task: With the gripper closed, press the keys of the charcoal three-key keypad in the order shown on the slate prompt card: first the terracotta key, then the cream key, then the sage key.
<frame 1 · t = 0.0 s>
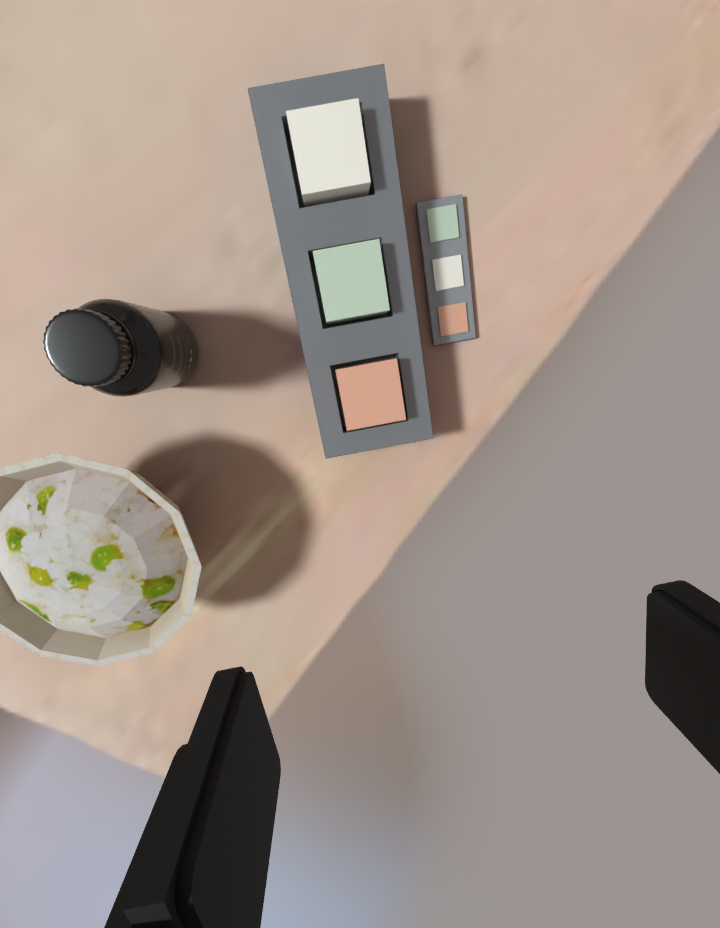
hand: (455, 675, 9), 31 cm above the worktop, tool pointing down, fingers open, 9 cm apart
terracotta key: (370, 393, 34), point 4 cm above the worktop, slide at 0.0 cm
prompt card: (446, 274, 36), on the worktop
keypad: (349, 292, 36), on the worktop
cream key: (329, 157, 30), point 4 cm above the worktop, slide at 0.0 cm
sage key: (351, 284, 32), point 4 cm above the worktop, slide at 0.0 cm
bowl: (135, 522, 40), on the worktop
supplement bottle: (163, 350, 36), on the worktop
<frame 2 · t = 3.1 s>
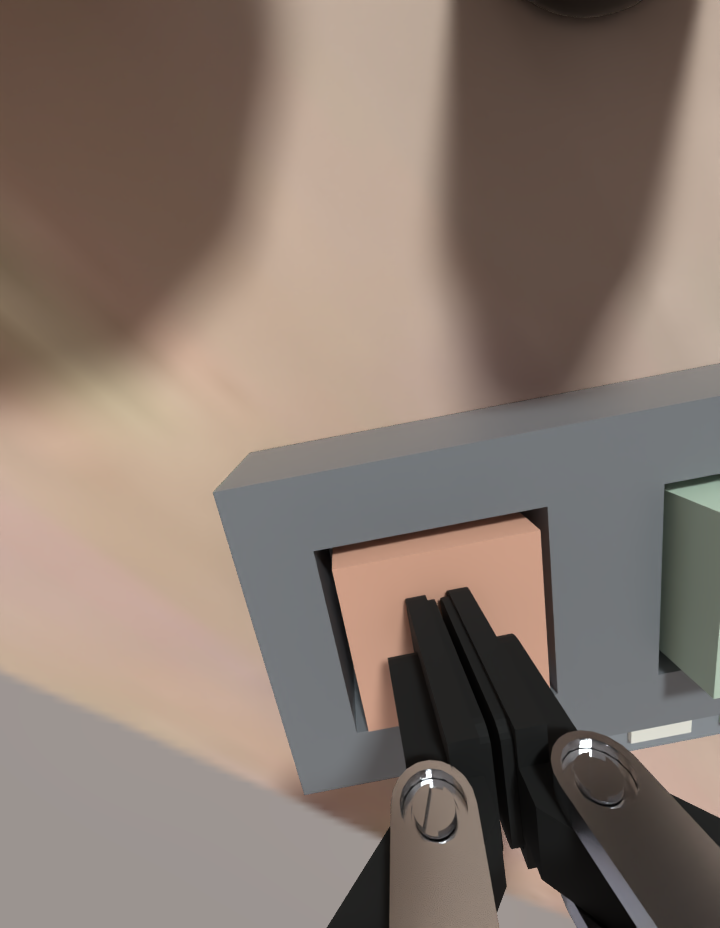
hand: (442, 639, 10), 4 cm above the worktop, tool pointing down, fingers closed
terracotta key: (435, 603, 12), point 3 cm above the worktop, slide at 0.9 cm, touching gripper
prompt card: (649, 700, 17), on the worktop
keypad: (654, 510, 14), on the worktop
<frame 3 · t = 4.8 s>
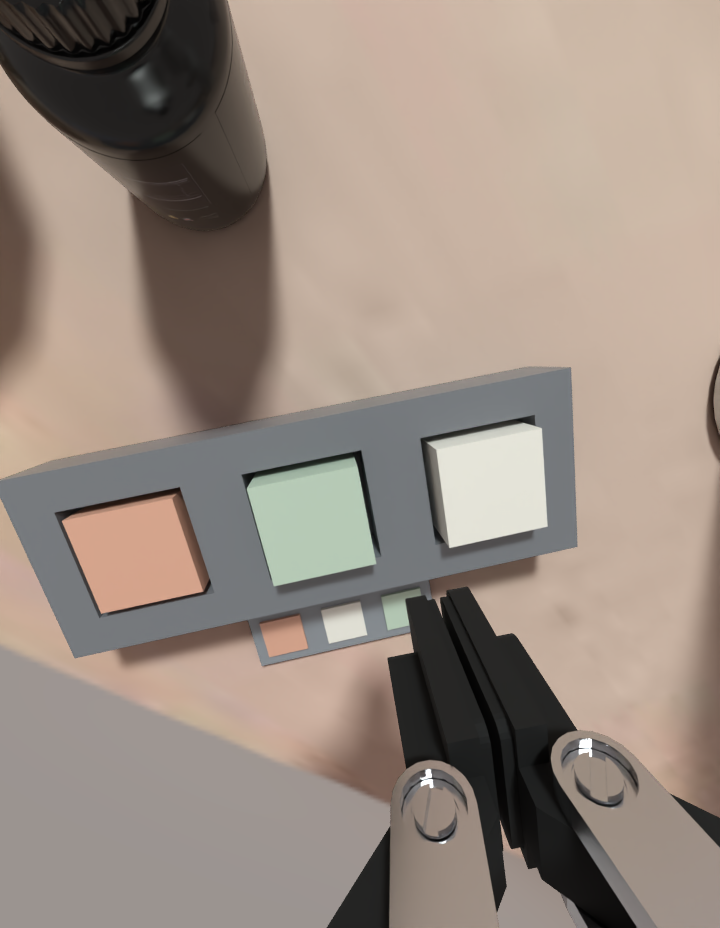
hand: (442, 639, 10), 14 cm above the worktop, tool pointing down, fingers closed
terracotta key: (148, 544, 21), point 3 cm above the worktop, slide at 1.0 cm
prompt card: (343, 616, 26), on the worktop
keypad: (315, 492, 24), on the worktop
cream key: (482, 480, 21), point 4 cm above the worktop, slide at 0.0 cm
sage key: (314, 516, 20), point 4 cm above the worktop, slide at 0.0 cm
supplement bottle: (198, 159, 19), on the worktop
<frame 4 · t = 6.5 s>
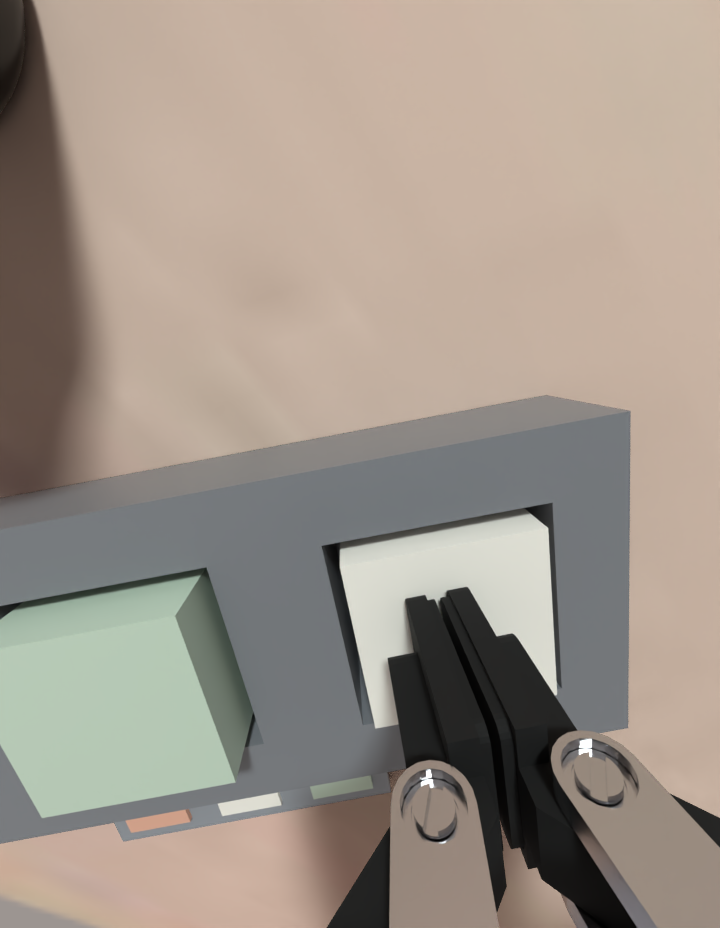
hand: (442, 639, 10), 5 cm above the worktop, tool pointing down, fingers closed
prompt card: (247, 771, 17), on the worktop
keypad: (186, 596, 15), on the worktop
cream key: (441, 600, 12), point 3 cm above the worktop, slide at 0.8 cm, touching gripper
sage key: (134, 676, 11), point 4 cm above the worktop, slide at 0.0 cm
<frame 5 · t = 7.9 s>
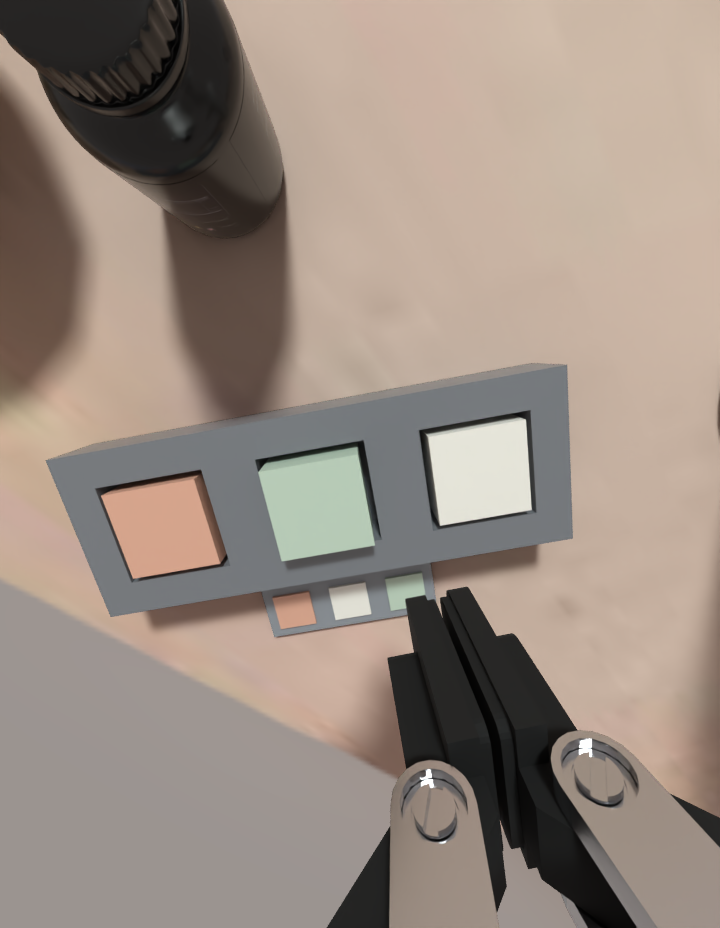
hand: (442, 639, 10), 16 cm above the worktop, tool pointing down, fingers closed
terracotta key: (174, 519, 23), point 3 cm above the worktop, slide at 1.0 cm
prompt card: (350, 595, 28), on the worktop
keypad: (325, 479, 26), on the worktop
cream key: (473, 466, 23), point 3 cm above the worktop, slide at 1.0 cm
sage key: (320, 499, 22), point 4 cm above the worktop, slide at 0.0 cm
supplement bottle: (222, 173, 21), on the worktop
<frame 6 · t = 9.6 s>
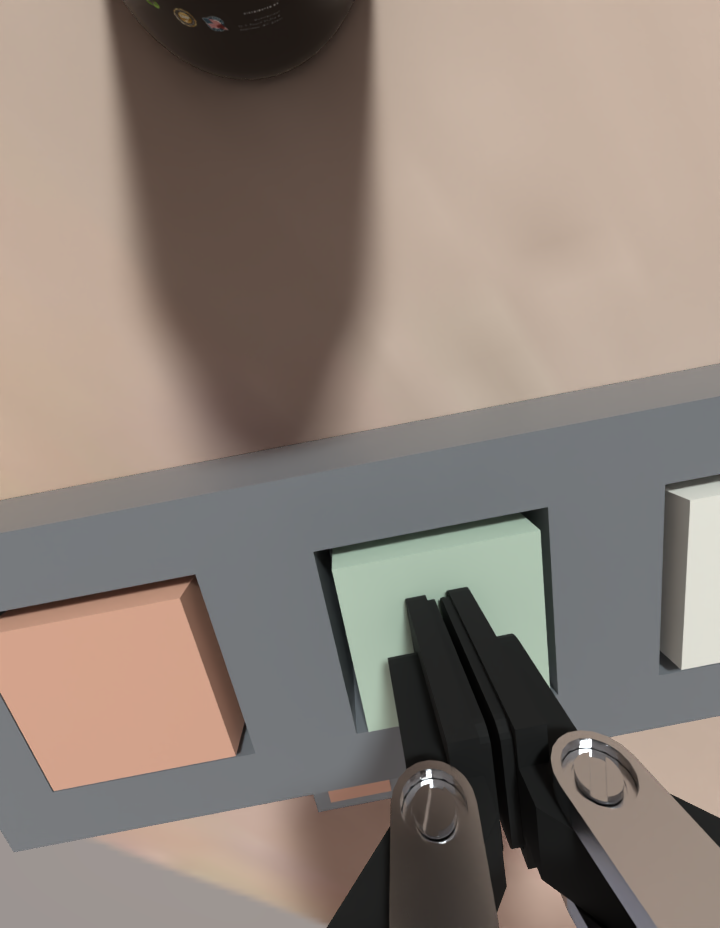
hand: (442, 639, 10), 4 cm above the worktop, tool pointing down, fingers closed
terracotta key: (140, 658, 12), point 3 cm above the worktop, slide at 1.0 cm
prompt card: (445, 740, 17), on the worktop
keypad: (416, 556, 14), on the worktop
sage key: (435, 603, 12), point 3 cm above the worktop, slide at 1.0 cm, touching gripper
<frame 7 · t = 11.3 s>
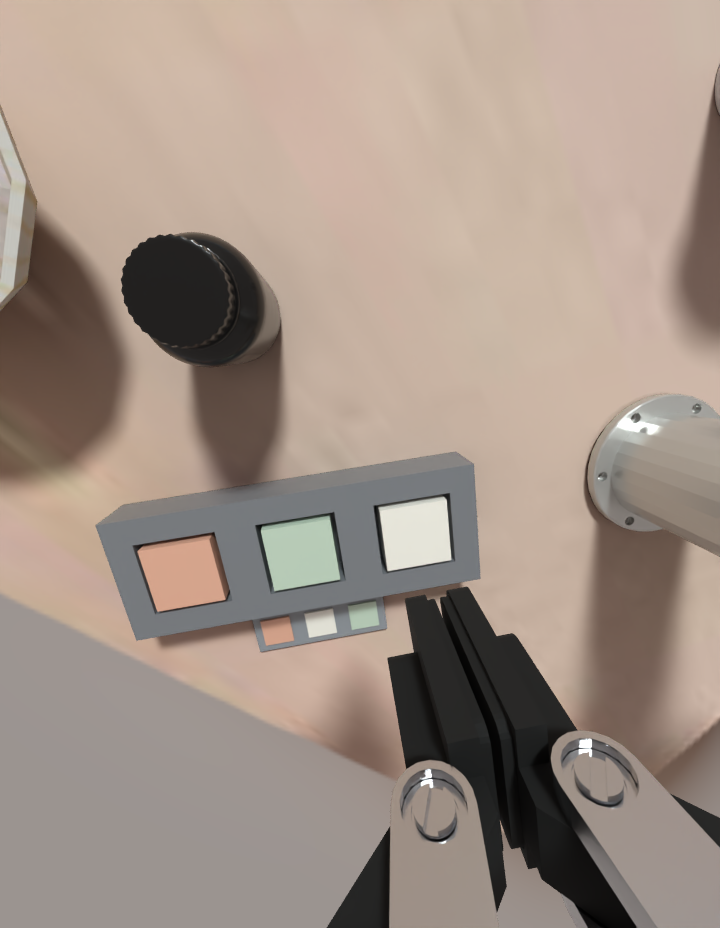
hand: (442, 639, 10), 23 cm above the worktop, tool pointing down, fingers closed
terracotta key: (189, 566, 31), point 3 cm above the worktop, slide at 1.0 cm
prompt card: (320, 618, 36), on the worktop
keypad: (303, 531, 34), on the worktop
cream key: (412, 528, 32), point 3 cm above the worktop, slide at 1.0 cm
sage key: (302, 546, 31), point 3 cm above the worktop, slide at 1.0 cm
supplement bottle: (235, 317, 29), on the worktop
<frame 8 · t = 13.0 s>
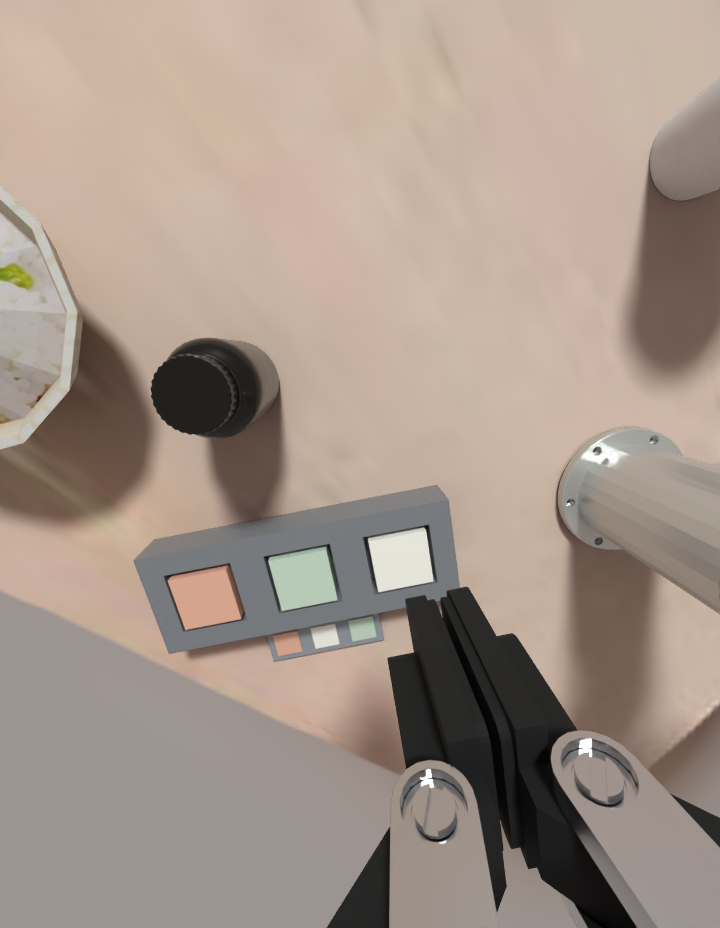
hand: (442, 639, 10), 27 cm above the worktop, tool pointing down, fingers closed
terracotta key: (210, 590, 36), point 3 cm above the worktop, slide at 1.0 cm
prompt card: (325, 631, 42), on the worktop
keypad: (307, 557, 39), on the worktop
cream key: (399, 554, 37), point 3 cm above the worktop, slide at 1.0 cm
sage key: (305, 572, 36), point 3 cm above the worktop, slide at 1.0 cm
coffee cup: (685, 156, 32), on the worktop
bowl: (26, 321, 32), on the worktop
supplement bottle: (241, 382, 35), on the worktop
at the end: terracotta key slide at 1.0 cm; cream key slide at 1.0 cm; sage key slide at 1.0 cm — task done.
